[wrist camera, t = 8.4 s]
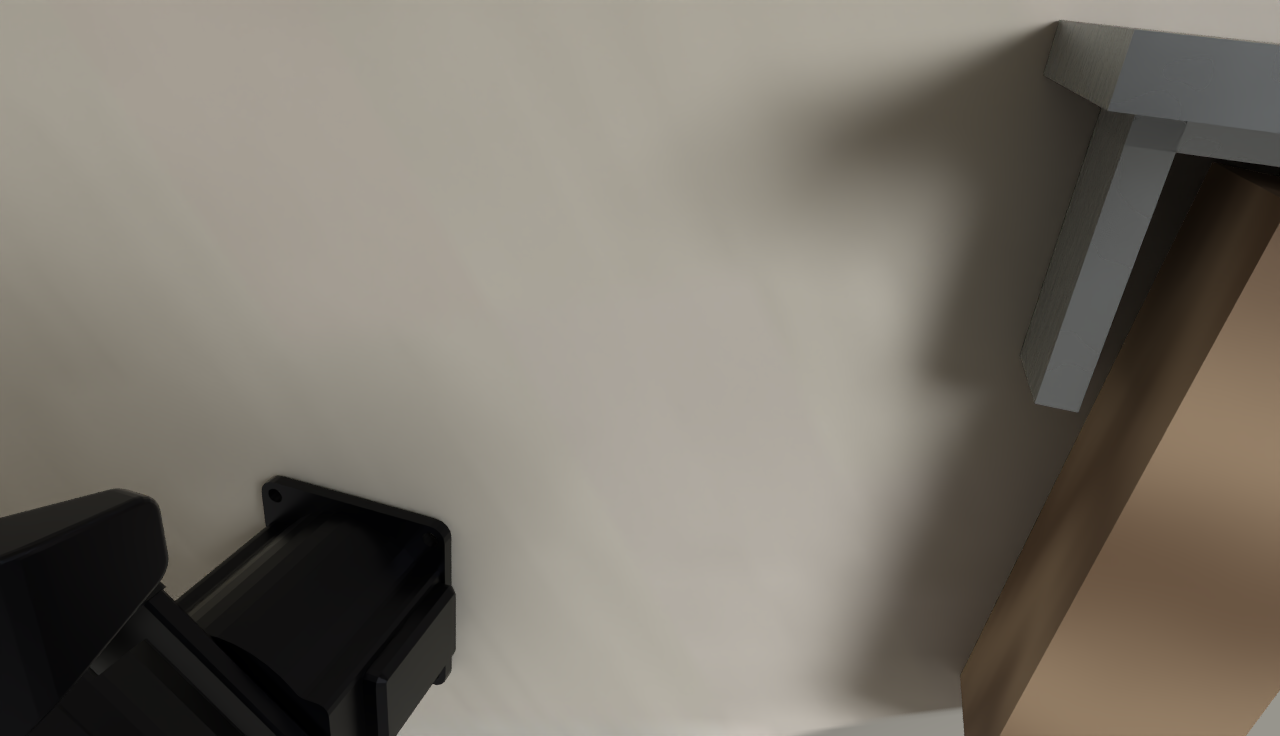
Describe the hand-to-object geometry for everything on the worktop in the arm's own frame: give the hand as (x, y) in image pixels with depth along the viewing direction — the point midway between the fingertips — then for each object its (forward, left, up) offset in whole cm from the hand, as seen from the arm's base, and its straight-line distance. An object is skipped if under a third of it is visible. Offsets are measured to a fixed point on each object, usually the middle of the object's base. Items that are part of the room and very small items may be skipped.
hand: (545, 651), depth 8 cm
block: (+10, -3, -13) cm, 17 cm away
